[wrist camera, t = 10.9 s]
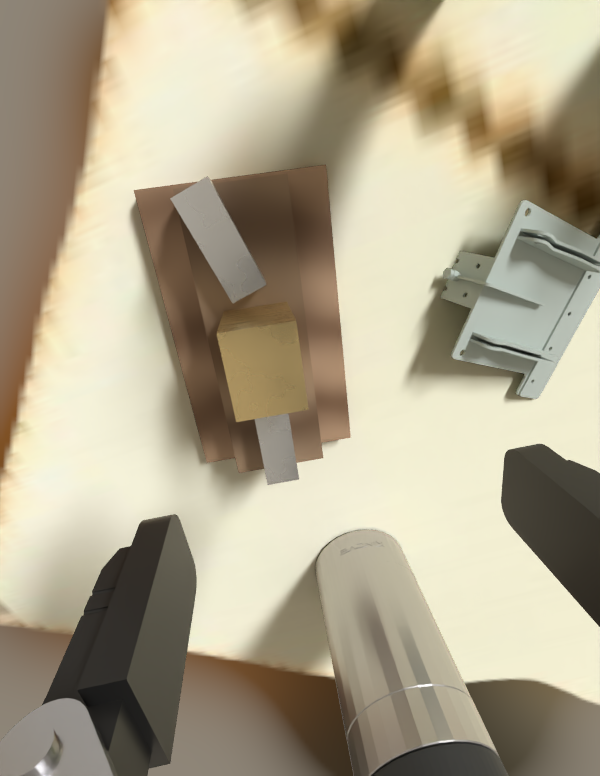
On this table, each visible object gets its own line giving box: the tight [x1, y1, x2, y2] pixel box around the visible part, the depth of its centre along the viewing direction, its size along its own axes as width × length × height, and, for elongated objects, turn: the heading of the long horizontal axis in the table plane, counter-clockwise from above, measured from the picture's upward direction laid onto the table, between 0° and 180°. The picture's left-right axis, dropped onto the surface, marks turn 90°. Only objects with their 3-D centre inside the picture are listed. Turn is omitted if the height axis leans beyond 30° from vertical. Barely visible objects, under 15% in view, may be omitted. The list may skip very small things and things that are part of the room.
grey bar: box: [170, 176, 299, 485], centre depth 24 cm, size 19×4×2 cm, turn 8°
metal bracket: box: [440, 200, 600, 399], centre depth 30 cm, size 14×6×15 cm
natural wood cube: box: [216, 302, 308, 422], centre depth 23 cm, size 5×4×6 cm
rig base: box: [134, 165, 350, 473], centre depth 27 cm, size 20×12×4 cm, turn 8°
